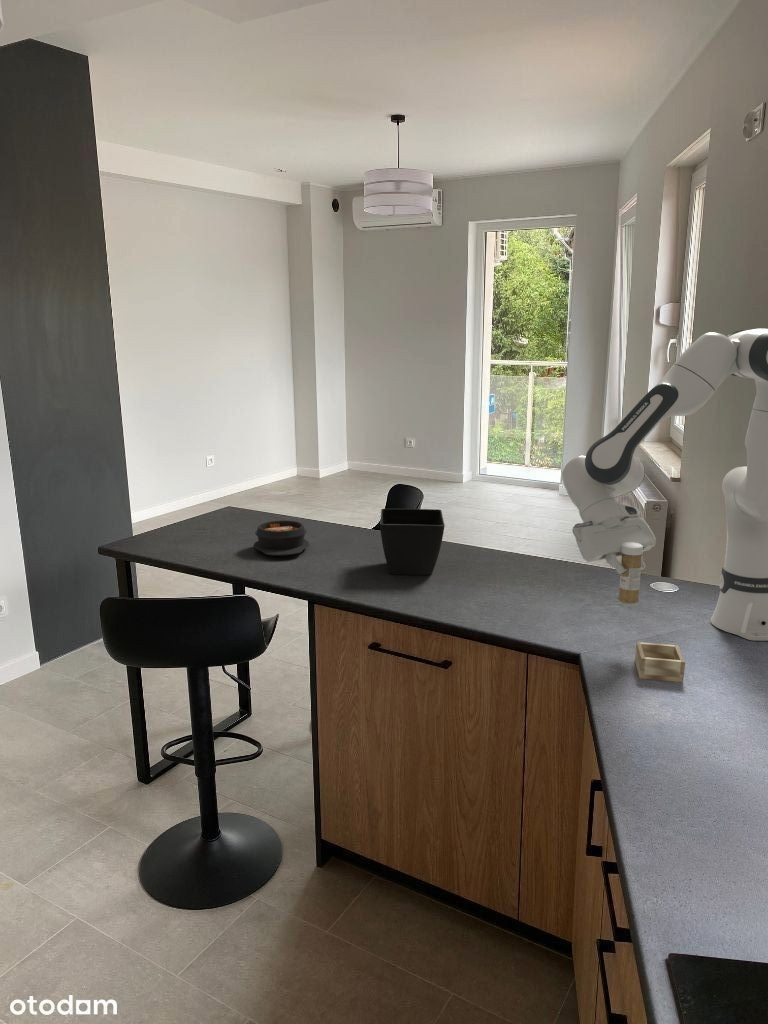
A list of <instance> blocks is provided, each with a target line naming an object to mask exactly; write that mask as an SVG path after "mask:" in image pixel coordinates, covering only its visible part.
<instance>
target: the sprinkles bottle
mask: <svg viewBox="0 0 768 1024" xmlns="http://www.w3.org/2000/svg"><path fill="white" fill-rule="evenodd" d="M621 552H622V553H621V554H622V556H621V561H620V563H621V564H625V566H626V568H627V572H625V573H624V574H619V590H618V591H619V592H618V598H617V600H618V601H619V602H620V603H622V604H628V605H632V604H634V605H635V604H637V603H639V601H640V600H639V599H640V598H639V593H640V586H641V574H642V572H641V571H642V570H641V556H642V553H643V554H644V551H643V546H642V545H641V544H639V543H633V542H627V543H623V544H622V546H621Z"/></svg>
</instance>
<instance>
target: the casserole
mask: <svg viewBox="0 0 768 1024" xmlns="http://www.w3.org/2000/svg"><path fill="white" fill-rule="evenodd" d="M307 532H308V531H307V529H306V528H305V526H304V524H303V523H302V522H298V521H294V520H274V521H273V520H272V521H267V522H263V523H260V524H259V525H258V526H257V529H256V530H255V536H257V541H256V542H254V543H253V546H252V547H253V549H255V550H257V551H260V552H262V553H263V554H265V555H267V556H277V557H280V556H281V557H283V556H292V555H298V554H301V553H302V552H303V551H304V550H305V549H306V548H308V547H309V546H310V541H309V540H307V539H305V535H306V534H307Z"/></svg>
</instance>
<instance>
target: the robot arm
mask: <svg viewBox="0 0 768 1024" xmlns="http://www.w3.org/2000/svg"><path fill="white" fill-rule="evenodd" d="M730 376H733V377H741V378H743V379H747V380H748V379H749V380H754V382H755V388H756V391H755V394H756V395H755V398H754V401H753V405H752V409H751V413H750V417H749V421H748V426H747V431H746V435H745V438H744V446H745V449H746V466H737V467H734V468H732V469H731V470H729V471H728V472H727V473H726V474H725V476H724V477H723V479H722V483H721V491H722V494H723V497H724V506H725V507H724V508H725V520H726V521H725V523H726V546H725V547H726V548H725V557H724V563H723V564H724V566H723V567H722V568H721V573H720V577H719V590H720V591H719V595H718V600H717V603H716V606H715V609H714V611H713V614H712V616H711V618H710V623H711V624H712V625H713V626H714V627H715V628H717V629H720V630H722V631H724V632H726V633H729V634H734V635H736V636H739V637H742V638H743V639H746V640H749V641H760V642H761V641H762V642H763V641H764V642H766V641H768V328H765V327H764V328H763V327H762V328H760V327H759V328H758V327H757V328H754V329H742V330H741V329H740V330H737V331H734V332H732V333H730V334H728V335H725V334H723V333H718V332H712V331H711V332H706V333H704V334H702V335H700V336H699V337H698V338H697V339H696V340H695V341H694V342H693V343H691V344H690V345H689V346H688V347H687V348H686V350H684V352H682V353H681V355H680V356H679V357H678V358H677V359H676V360H675V362H674V363H673V364H672V366H671V367H670V369H669V370H668V371H667V372H666V373H665V374H664V375H663V377H662V378H661V379H660V380H659V382H657V384H655V386H653V388H651V389H650V390H649V391H648V392H647V393H646V394H644V396H643V397H642V398H641V399H640V400H639V401H638V402H637V404H636V405H634V407H633V408H631V410H629V412H628V413H627V414H626V416H625V417H624V418H623V419H622V420H620V422H619V423H618V424H617V426H616V427H614V428H613V429H612V431H610V432H609V433H608V434H606V435H605V436H603V437H602V438H599V439H598V440H596V441H595V442H594V443H593V444H592V445H591V446H590V447H589V448H588V450H587V452H586V455H578V456H576V457H574V458H573V459H571V460H570V461H568V463H566V465H564V467H563V469H562V472H561V478H562V479H561V480H562V482H563V483H562V484H563V485H564V488H565V491H566V493H567V494H568V495H567V496H568V497H569V498H570V500H571V501H570V502H571V503H572V504H573V505H575V507H576V508H577V510H578V513H579V516H580V519H581V521H582V522H581V523H580V522H578V523H575V524H574V526H573V527H572V530H571V531H572V533H573V536H574V537H575V541H576V544H577V545H576V546H577V547H578V550H579V552H580V554H581V556H582V558H583V560H585V561H586V562H587V563H590V562H591V563H592V562H597V561H602V560H605V561H606V563H607V564H609V566H611V567H612V568H613V569H614V570H615V571H616V573H617V575H620V574H624V573H625V572H627V568H626V566H625V564H621V561H620V560H618V559H617V557H622V554H621V553H622V552H621V546H622V544H623V543H627V542H633V543H639V544H641V545H642V546H643V553H642V556H641V571H642V570H644V569H645V568H646V566H647V565H646V563H645V562H644V552H647V551H649V550H651V549H652V548H654V547H655V546H656V545H657V538H656V536H655V533H654V532H653V530H652V529H651V528H650V526H649V524H648V523H647V521H646V520H645V519H644V518H642V517H641V516H640V515H641V511H640V509H639V508H638V507H636V506H631V505H627V504H622V503H621V502H620V503H619V502H617V501H616V498H618V497H621V496H624V495H627V494H629V493H631V492H633V491H635V490H637V489H638V488H639V487H640V486H641V485H642V483H643V482H644V479H645V474H646V470H645V466H644V464H643V462H642V461H641V460H640V458H638V456H637V455H636V454H635V452H636V450H637V449H638V447H639V446H640V445H641V444H642V442H644V440H645V439H646V438H647V437H648V436H649V435H650V434H651V433H652V431H653V430H654V429H655V428H656V427H657V426H658V424H660V423H661V422H662V421H663V420H665V419H667V418H670V417H686V416H690V415H693V414H695V413H696V412H698V411H699V410H700V409H701V408H702V407H703V406H704V405H706V404H707V402H708V401H709V400H710V399H711V398H712V396H713V395H714V394H715V393H716V391H717V390H718V388H720V386H721V384H723V382H724V381H725V380H726V379H728V377H730Z"/></svg>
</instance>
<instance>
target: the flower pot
mask: <svg viewBox="0 0 768 1024" xmlns="http://www.w3.org/2000/svg"><path fill="white" fill-rule="evenodd" d="M445 525H446V524H445V521H444V517H443V511H442V509H436V508H435V509H434V508H431V509H430V508H429V509H428V508H381V509H380V521H379V528H380V529H379V530H380V538H381V542H382V543H381V544H382V550H383V554H384V557H385V562H386V565H387V569H388V571H389V574H391V575H402V576H403V575H406V576H407V575H411V576H414V575H415V576H416V575H417V576H430V575H432V574H433V572H434V570H435V566H436V564H437V561H438V559H439V555H440V552H441V551H440V550H441V547H442V542H443V539H444V538H443V537H444V532H445V527H446V526H445Z"/></svg>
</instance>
